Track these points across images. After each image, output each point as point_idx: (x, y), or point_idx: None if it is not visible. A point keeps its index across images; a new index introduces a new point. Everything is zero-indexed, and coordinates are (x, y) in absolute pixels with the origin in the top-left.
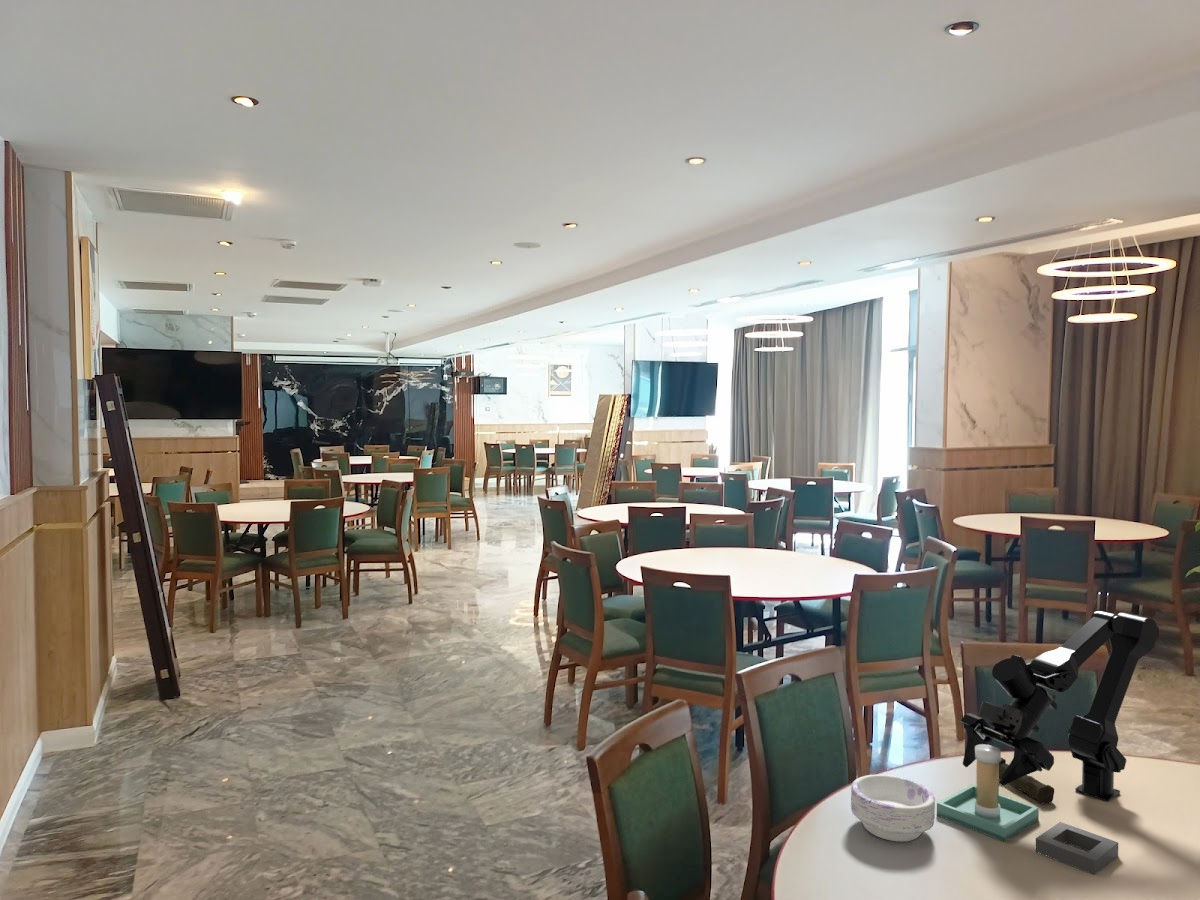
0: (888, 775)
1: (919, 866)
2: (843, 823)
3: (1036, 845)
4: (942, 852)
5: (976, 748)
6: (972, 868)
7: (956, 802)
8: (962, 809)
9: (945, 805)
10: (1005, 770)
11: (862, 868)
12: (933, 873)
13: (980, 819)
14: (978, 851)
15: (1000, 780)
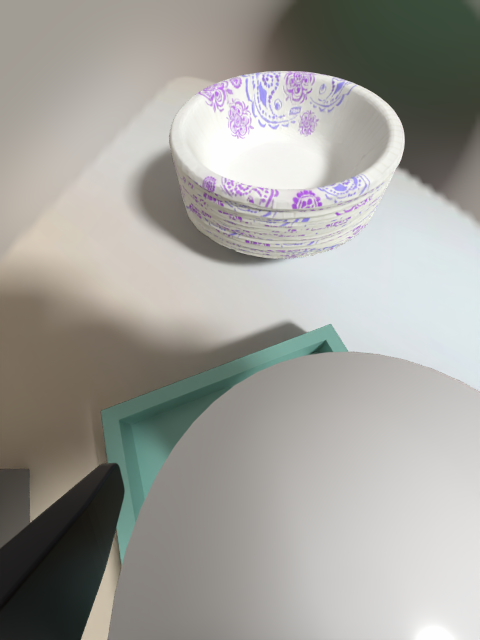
0: (395, 152)
1: (141, 194)
2: None
3: (9, 470)
4: (159, 249)
5: (427, 381)
6: (83, 262)
7: None
8: None
9: (308, 337)
10: (39, 553)
11: None
12: (112, 201)
13: (188, 378)
14: (123, 316)
15: (105, 470)
